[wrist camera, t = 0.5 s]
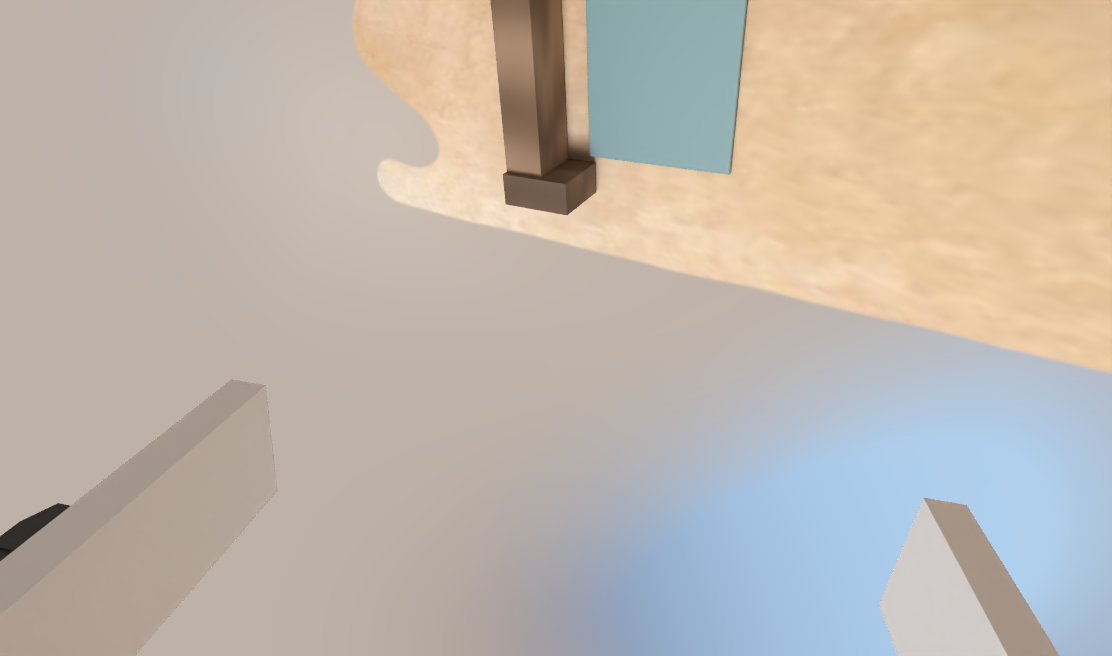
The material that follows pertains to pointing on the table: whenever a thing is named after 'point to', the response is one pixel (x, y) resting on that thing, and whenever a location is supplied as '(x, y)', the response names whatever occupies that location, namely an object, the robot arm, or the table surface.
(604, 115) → the pad
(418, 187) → the table surface
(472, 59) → the table surface
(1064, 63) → the table surface
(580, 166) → the brown l-shaped hook tool
